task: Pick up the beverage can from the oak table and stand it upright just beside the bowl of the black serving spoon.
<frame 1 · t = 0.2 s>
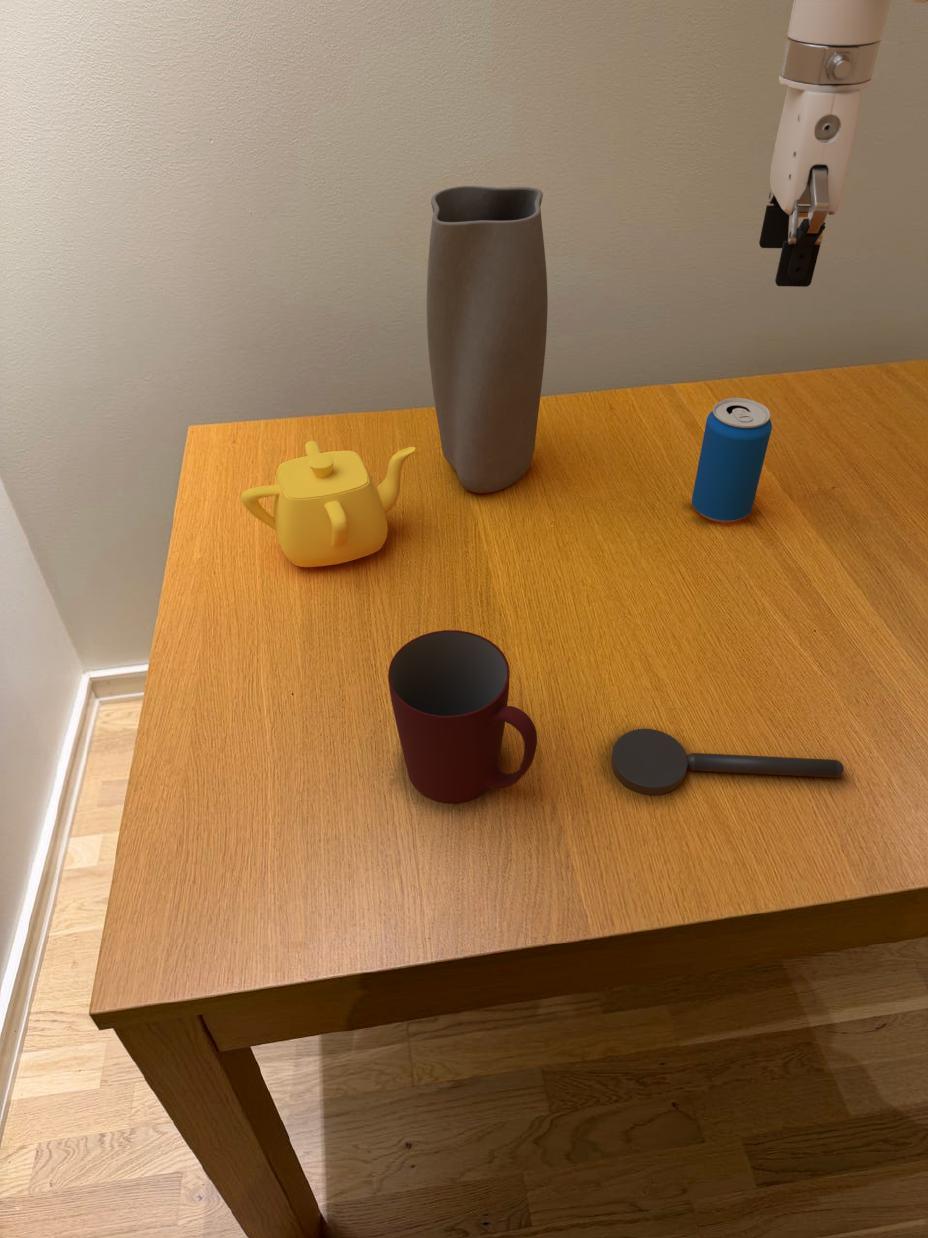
hand: (783, 265, 87), 24 cm above the table, tool pointing down, fingers open, 9 cm apart
vase: (487, 474, 104), on the table
beverage can: (720, 510, 98), on the table
mug: (468, 777, 72), on the table
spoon: (717, 768, 72), on the table
teapot: (339, 542, 95), on the table
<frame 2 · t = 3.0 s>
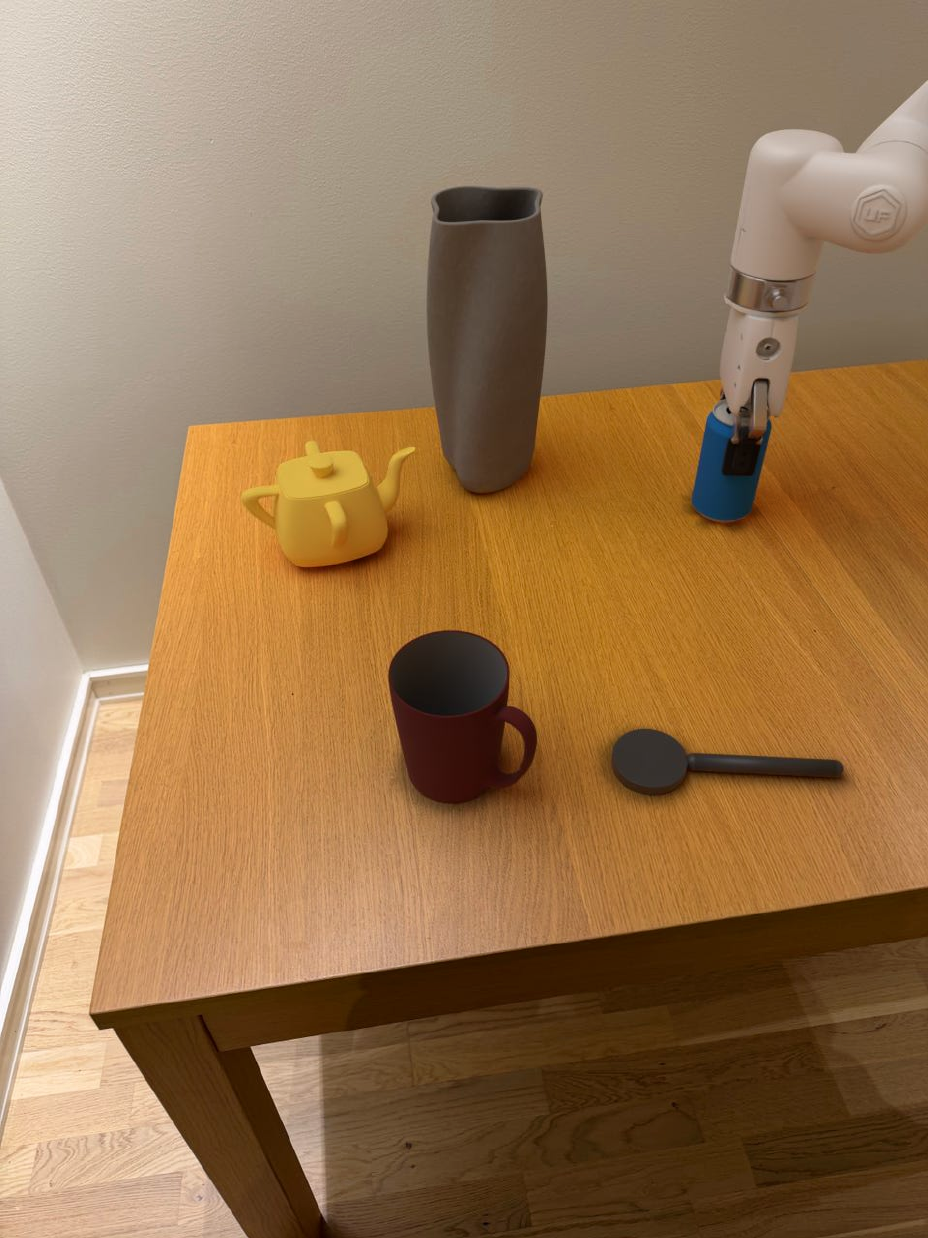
hand: (732, 453, 93), 7 cm above the table, tool pointing down, fingers closed on beverage can, 6 cm apart
beverage can: (720, 510, 98), on the table, touching gripper
everything else where it was.
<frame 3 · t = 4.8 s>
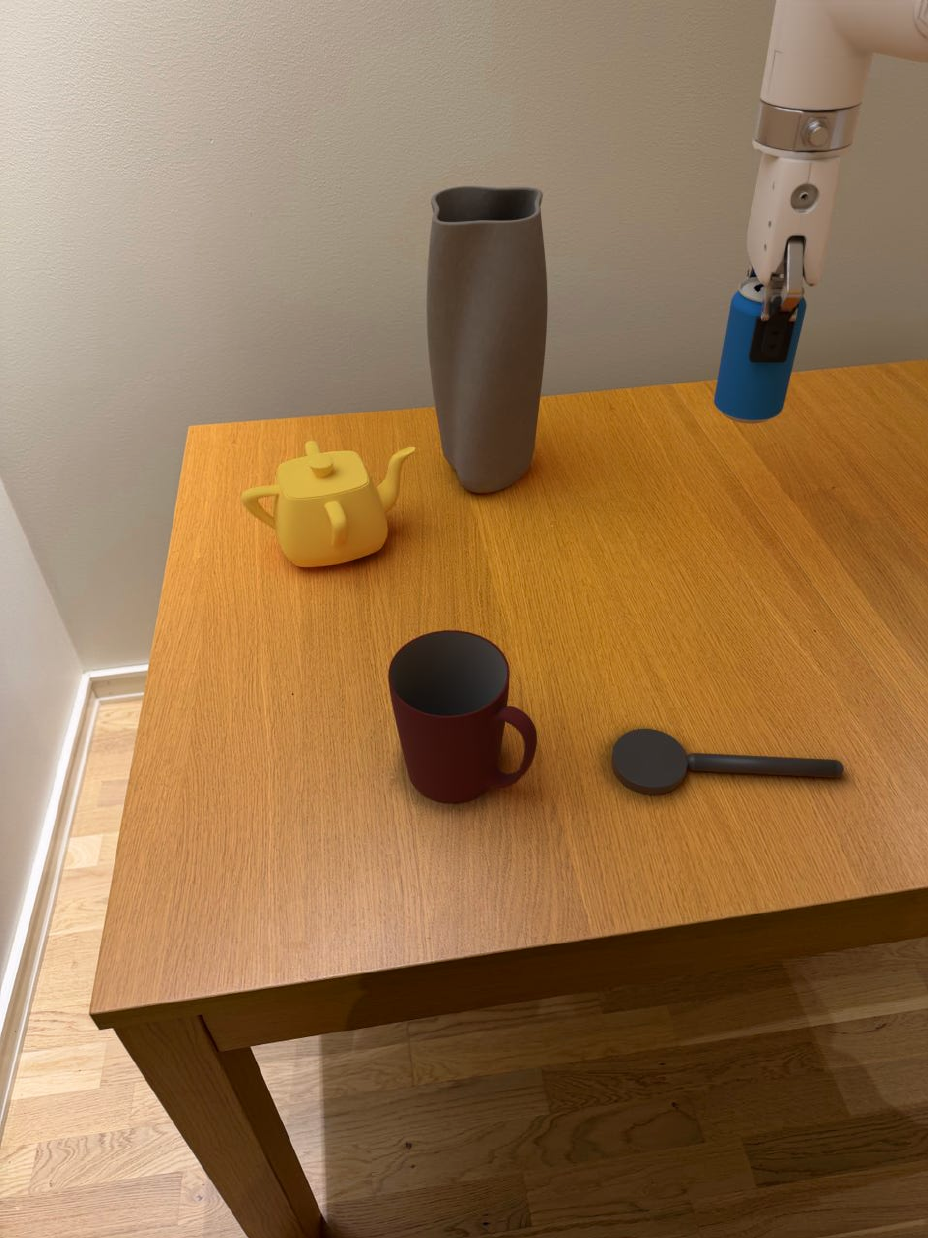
hand: (760, 341, 81), 21 cm above the table, tool pointing down, fingers closed on beverage can, 6 cm apart
beverage can: (746, 412, 86), point 14 cm above the table, touching gripper
everything else where it was.
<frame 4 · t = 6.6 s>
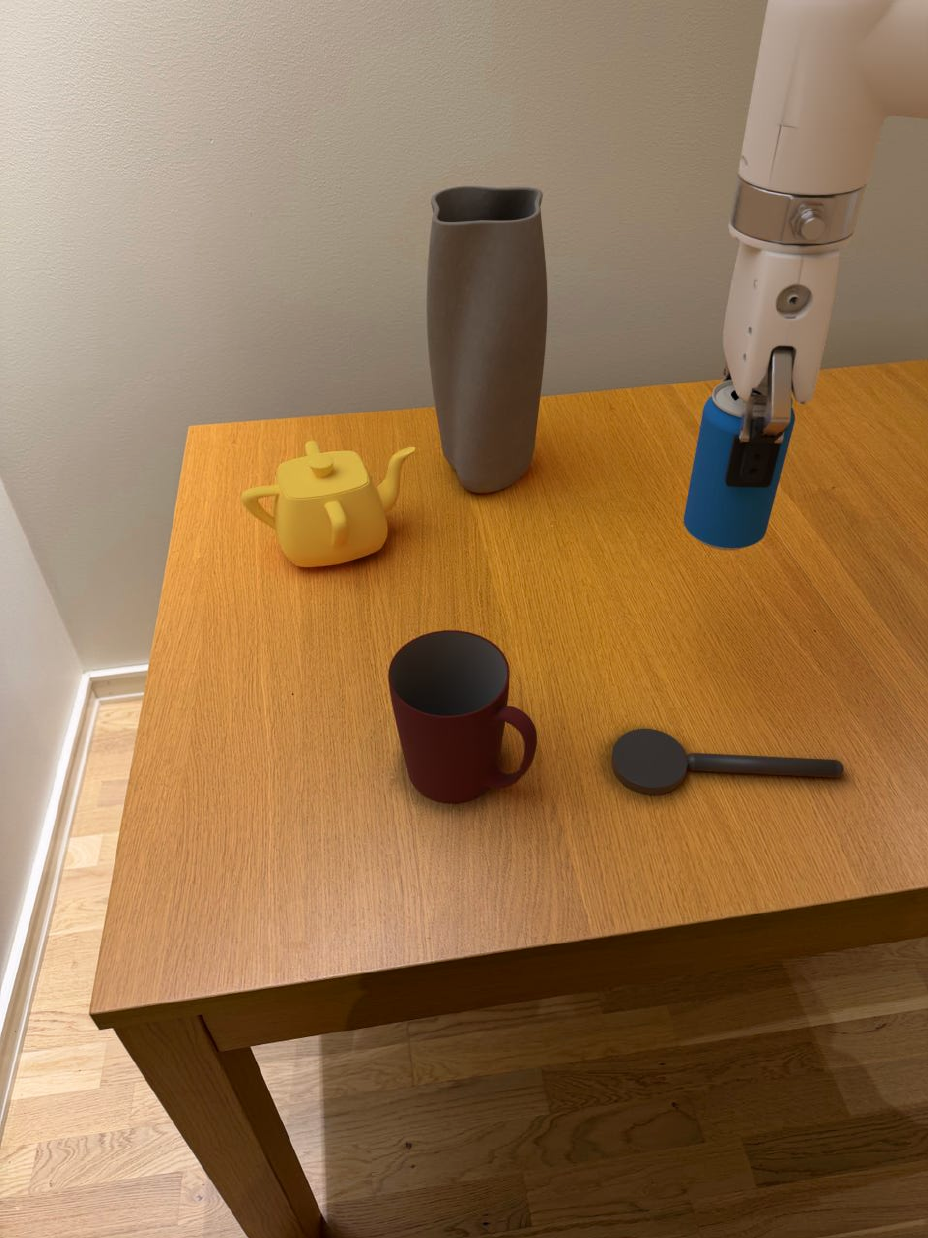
hand: (740, 456, 67), 21 cm above the table, tool pointing down, fingers closed on beverage can, 6 cm apart
beverage can: (722, 533, 72), point 14 cm above the table, touching gripper
everything else where it was.
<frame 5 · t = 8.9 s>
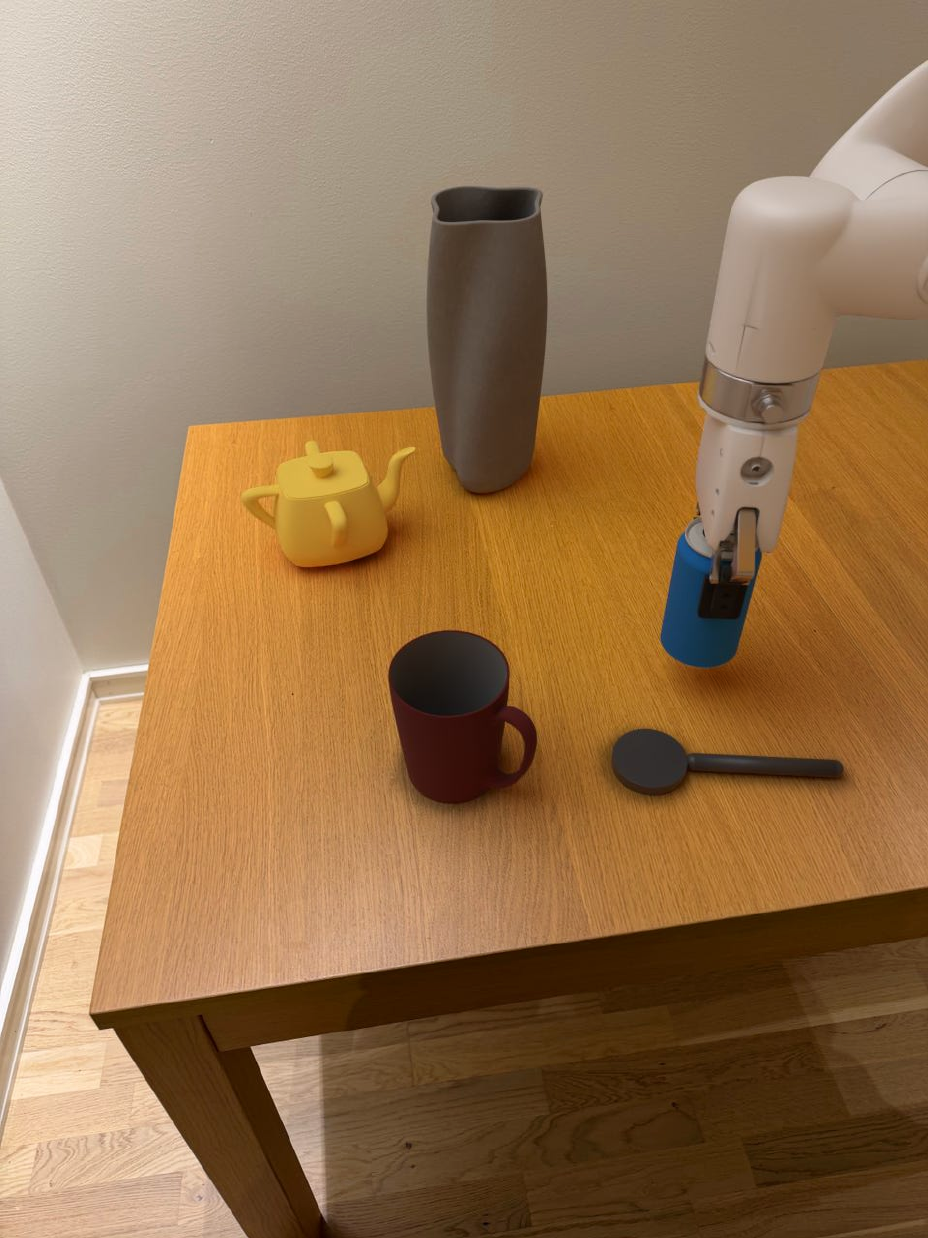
hand: (711, 584, 72), 11 cm above the table, tool pointing down, fingers closed on beverage can, 6 cm apart
beverage can: (696, 649, 76), point 4 cm above the table, touching gripper
everything else where it was.
when the fingers open (7 cm above the table, at t = 10.4 s): beverage can stays where it is, on the table.
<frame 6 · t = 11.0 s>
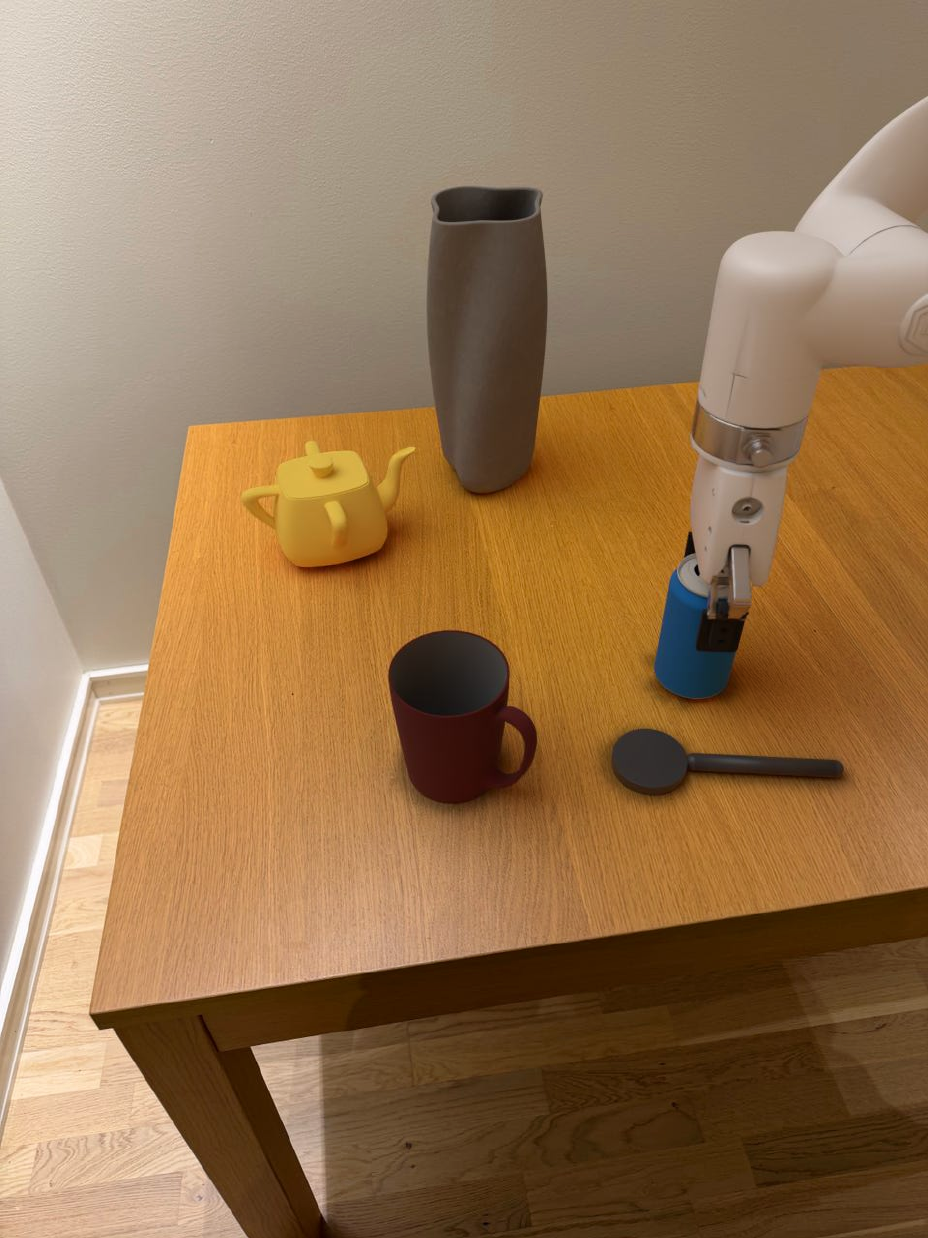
hand: (707, 608, 73), 8 cm above the table, tool pointing down, fingers open, 9 cm apart
beverage can: (689, 679, 79), on the table
everything else where it was.
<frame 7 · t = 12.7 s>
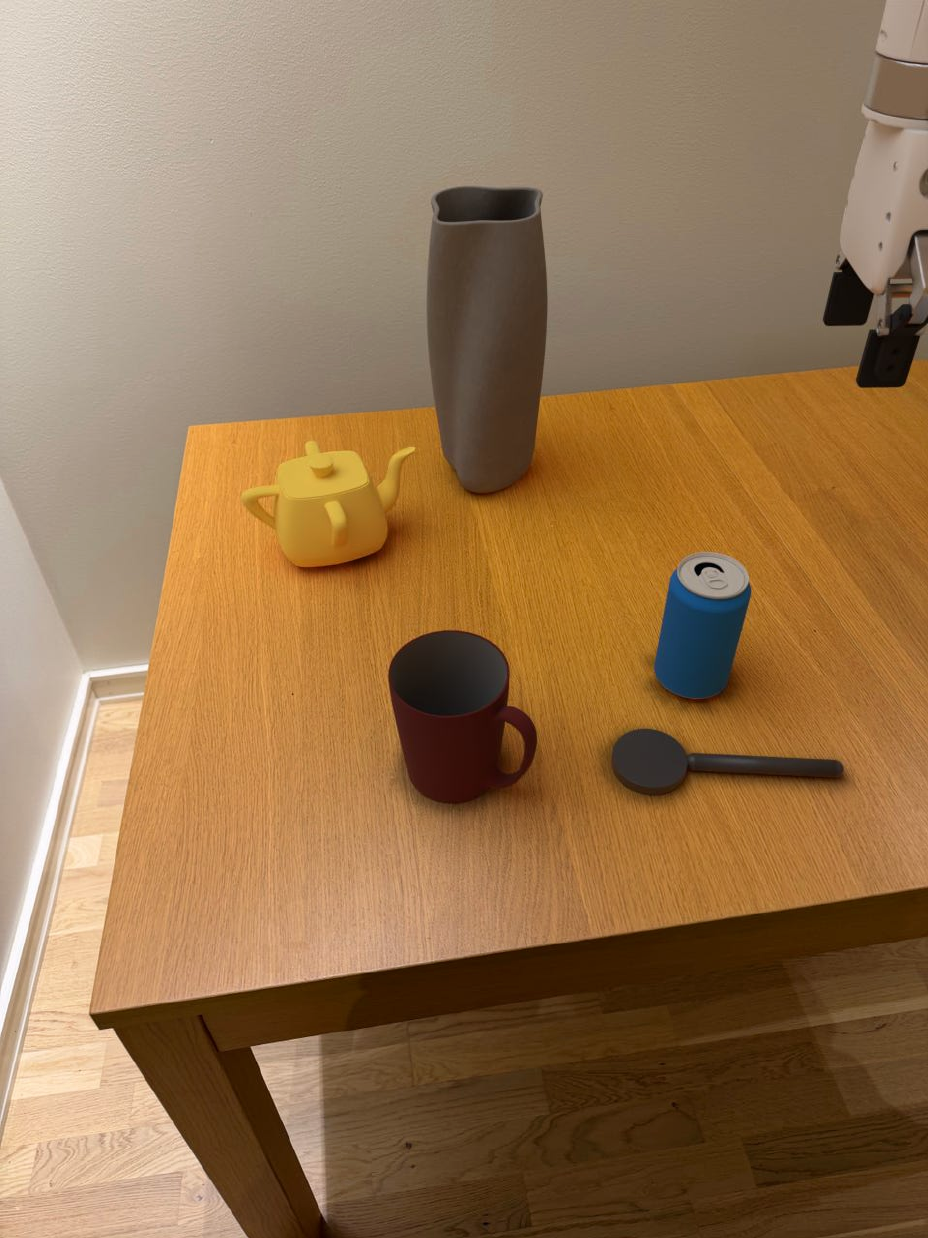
hand: (860, 353, 65), 27 cm above the table, tool pointing down, fingers open, 9 cm apart
nothing on the table moved.
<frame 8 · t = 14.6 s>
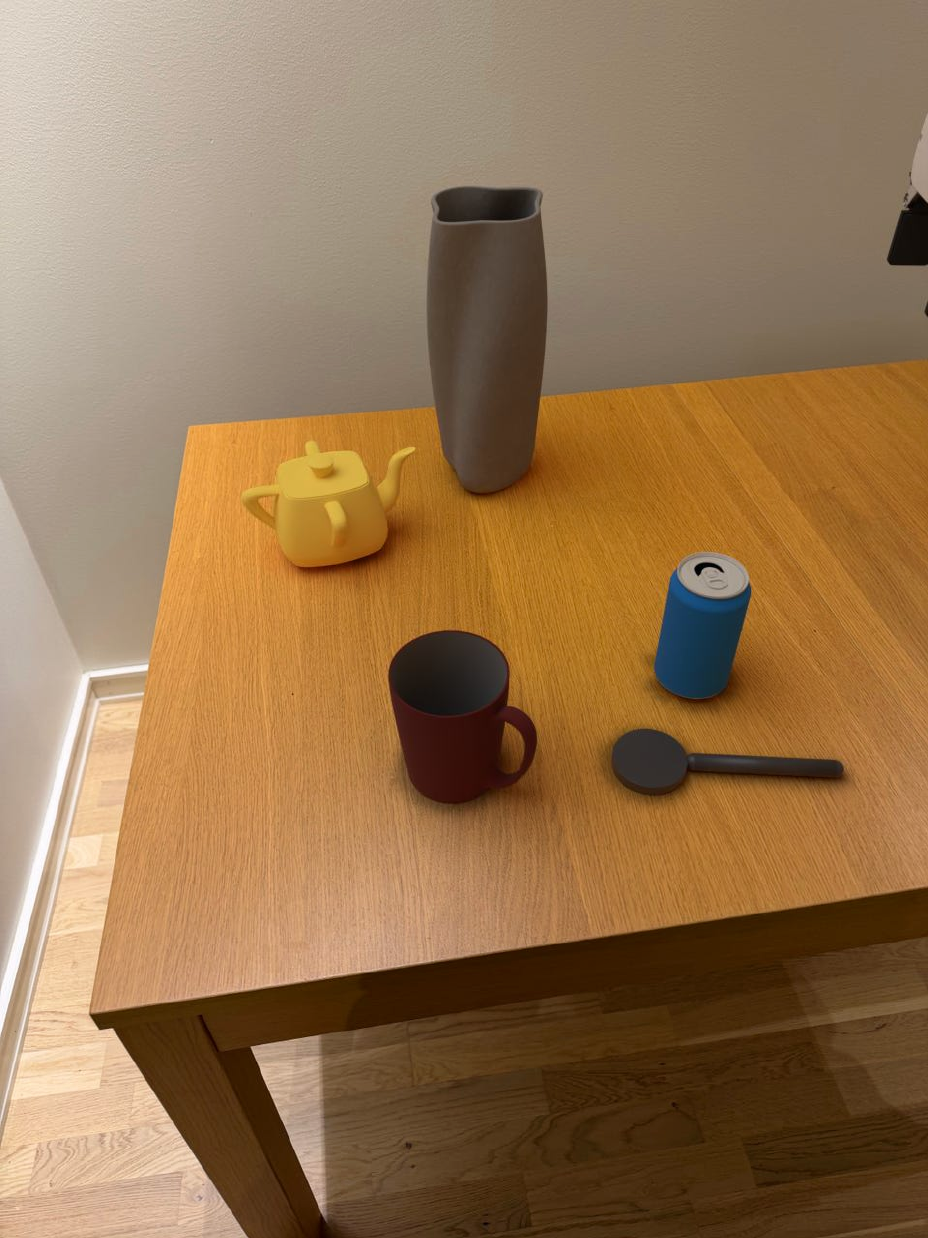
hand: (926, 289, 66), 30 cm above the table, tool pointing down, fingers open, 9 cm apart
nothing on the table moved.
at the end: beverage can inside the target area on the table beside the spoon (0.1 cm from its centre), on the table; beverage can 10.1 cm from the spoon (horizontally); beverage can tilted 0° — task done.
